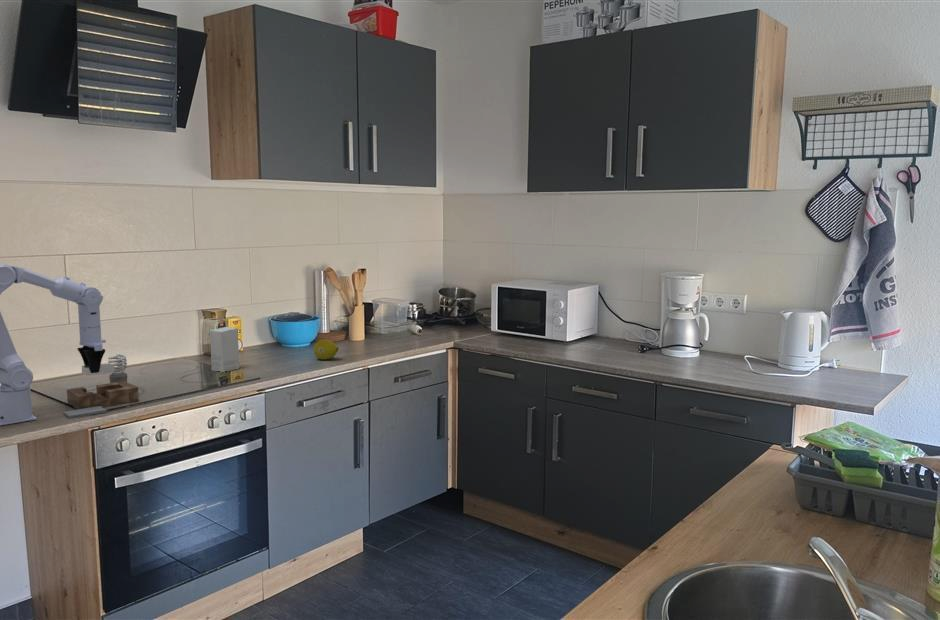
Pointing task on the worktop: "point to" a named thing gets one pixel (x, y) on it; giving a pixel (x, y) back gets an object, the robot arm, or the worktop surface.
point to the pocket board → (103, 395)
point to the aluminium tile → (103, 370)
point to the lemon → (325, 349)
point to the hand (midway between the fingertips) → (92, 371)
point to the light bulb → (118, 368)
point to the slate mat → (84, 412)
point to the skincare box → (224, 349)
